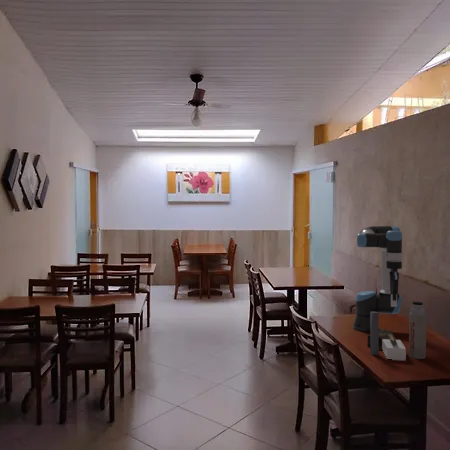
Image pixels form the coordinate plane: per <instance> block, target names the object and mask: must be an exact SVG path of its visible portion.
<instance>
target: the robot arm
mask: <svg viewBox="0 0 450 450" xmlns="http://www.w3.org/2000/svg"><path fill="white" fill-rule="evenodd" d="M356 245H357V247H358V248H379V249H380V251H381V289H379V290H378V293H376V291H374V290H366V291H365V290H364V291H359V292H358V293H357V294H356V295H355V318H354V321H353V323H352V329H354V330H356V331H359V332H367V333H368V332H370V312H378V314H388V315H389V314H390V315H394V314H395V315H396V314H397V315H398V314H399V313H400V311H401V308H402V307H401V305H402V295H401V294H400V292H399V279H400V273H399V272H398V270H401V269H403V262H402V261H403V232H402V231H401V230H400V227H399V226H394V225H382V226H379V225H372V226H368V227H365V228H362V229H361V230H360V231H359V233H357V237H356Z"/></svg>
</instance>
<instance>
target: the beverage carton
mask: <svg viewBox="0 0 450 450" xmlns="http://www.w3.org/2000/svg"><path fill="white" fill-rule="evenodd" d="M378 334H379V350H382V339H389V338H388V335H389V334H393V330H387V329H384V328H378ZM367 347H370V334H369V335H367Z"/></svg>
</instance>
